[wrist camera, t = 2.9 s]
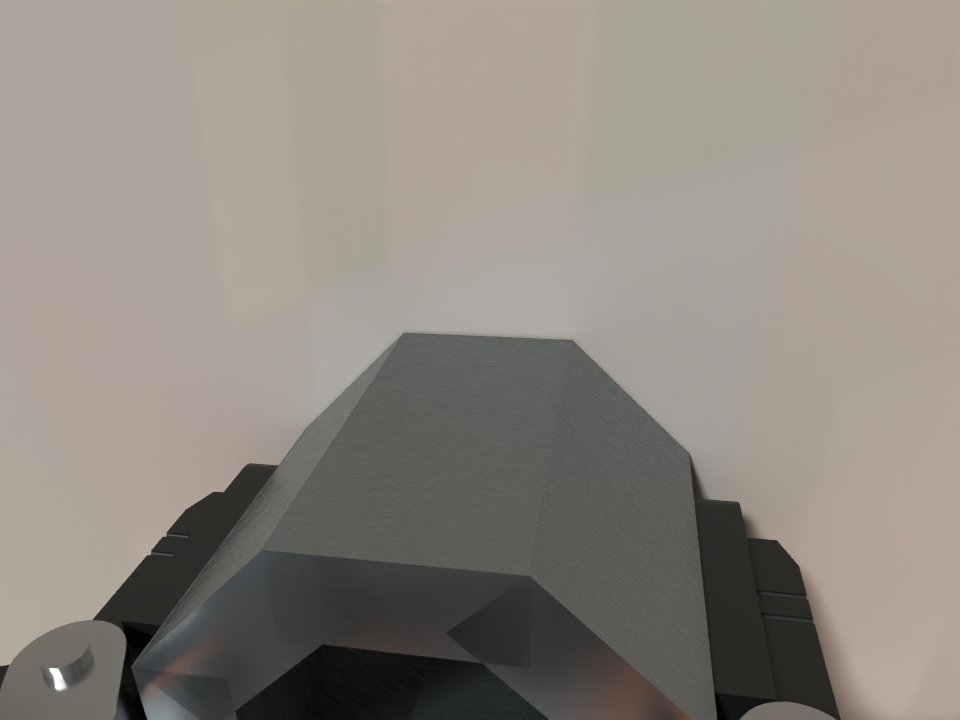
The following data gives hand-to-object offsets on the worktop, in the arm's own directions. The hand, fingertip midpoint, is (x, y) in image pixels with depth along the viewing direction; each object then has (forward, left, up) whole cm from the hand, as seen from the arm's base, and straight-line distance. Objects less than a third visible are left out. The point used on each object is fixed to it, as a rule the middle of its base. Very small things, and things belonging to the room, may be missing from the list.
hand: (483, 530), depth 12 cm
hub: (0, 0, -1) cm, 1 cm away
